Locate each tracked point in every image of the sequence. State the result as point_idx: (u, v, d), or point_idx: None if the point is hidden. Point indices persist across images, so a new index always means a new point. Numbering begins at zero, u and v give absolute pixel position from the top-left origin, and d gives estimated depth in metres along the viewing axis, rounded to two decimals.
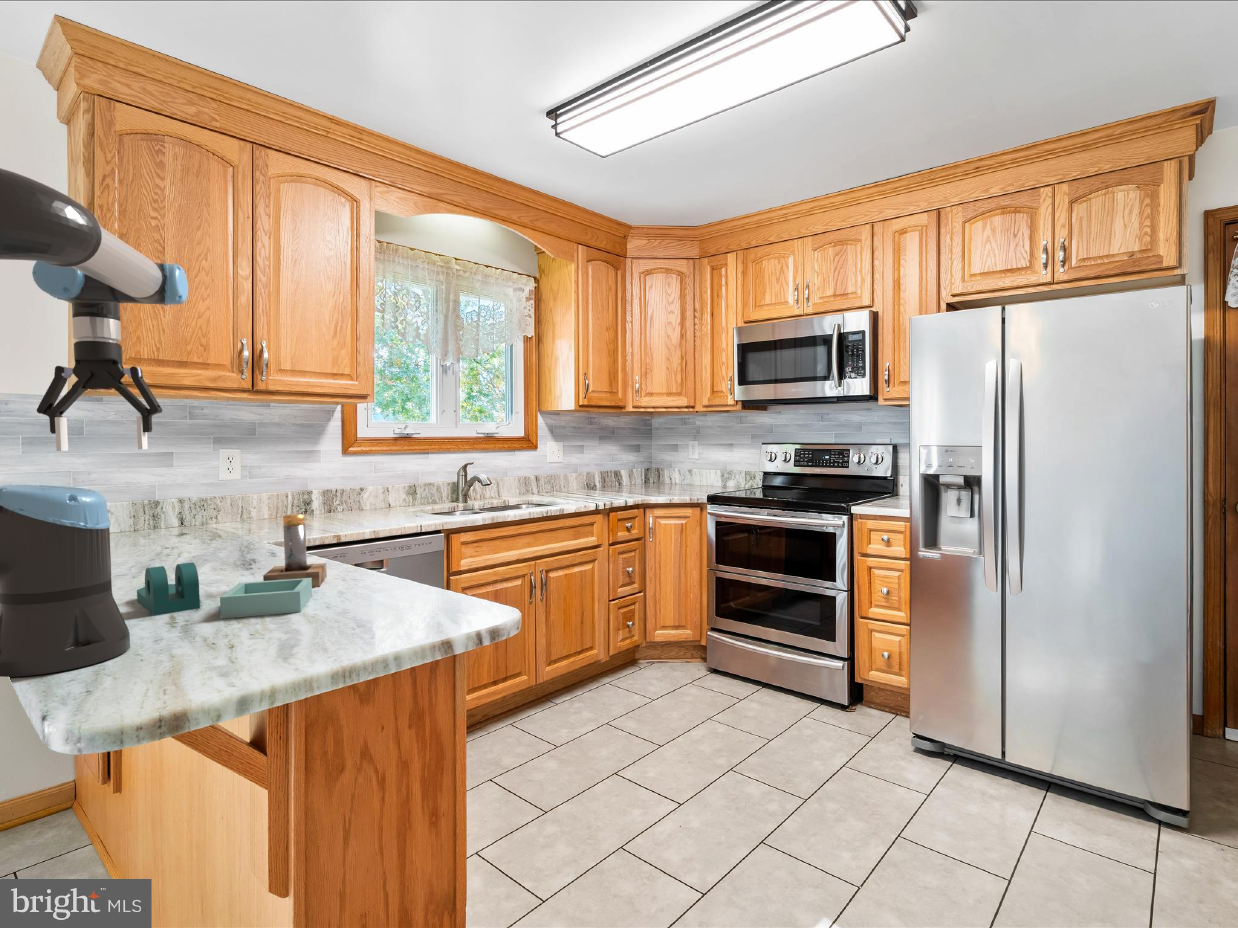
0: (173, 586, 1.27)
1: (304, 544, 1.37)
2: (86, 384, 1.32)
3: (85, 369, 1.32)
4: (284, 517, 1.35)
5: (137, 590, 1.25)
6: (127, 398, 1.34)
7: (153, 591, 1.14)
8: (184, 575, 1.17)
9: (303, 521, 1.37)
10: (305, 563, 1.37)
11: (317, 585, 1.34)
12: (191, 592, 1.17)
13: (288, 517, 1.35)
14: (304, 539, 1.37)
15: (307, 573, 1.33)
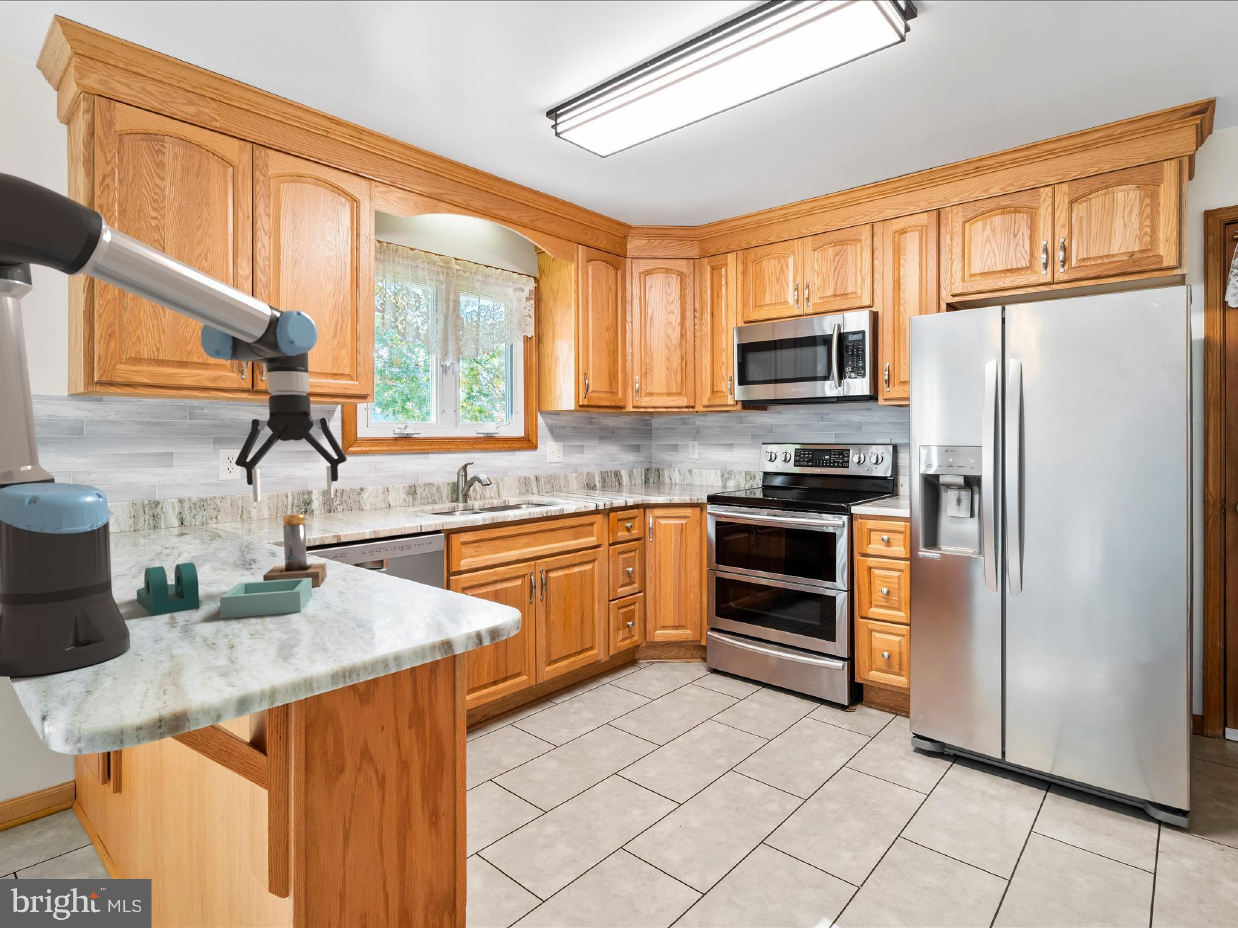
0: (173, 586, 1.27)
1: (304, 544, 1.37)
2: (280, 436, 1.35)
3: (279, 421, 1.35)
4: (284, 517, 1.35)
5: (137, 590, 1.25)
6: (317, 449, 1.37)
7: (152, 591, 1.13)
8: (183, 575, 1.17)
9: (303, 521, 1.37)
10: (305, 563, 1.37)
11: (317, 585, 1.34)
12: (191, 592, 1.17)
13: (288, 517, 1.35)
14: (304, 539, 1.37)
15: (307, 573, 1.33)
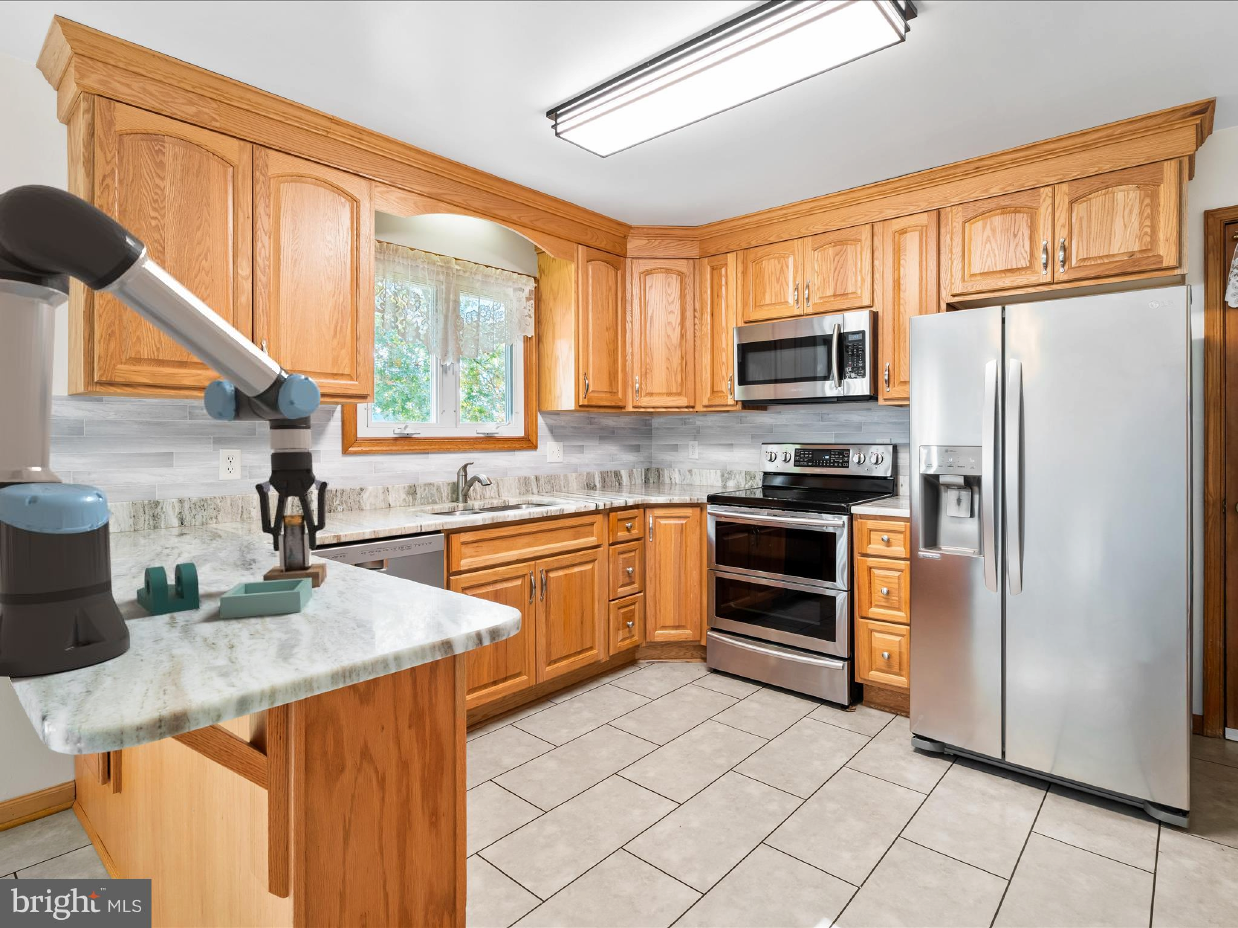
0: (173, 586, 1.27)
1: (304, 544, 1.37)
2: (287, 493, 1.36)
3: (279, 476, 1.35)
4: (284, 517, 1.35)
5: (137, 590, 1.25)
6: (304, 511, 1.36)
7: (152, 591, 1.13)
8: (183, 575, 1.17)
9: (303, 521, 1.37)
10: None
11: (317, 585, 1.34)
12: (191, 592, 1.17)
13: (288, 517, 1.35)
14: None
15: (307, 573, 1.33)
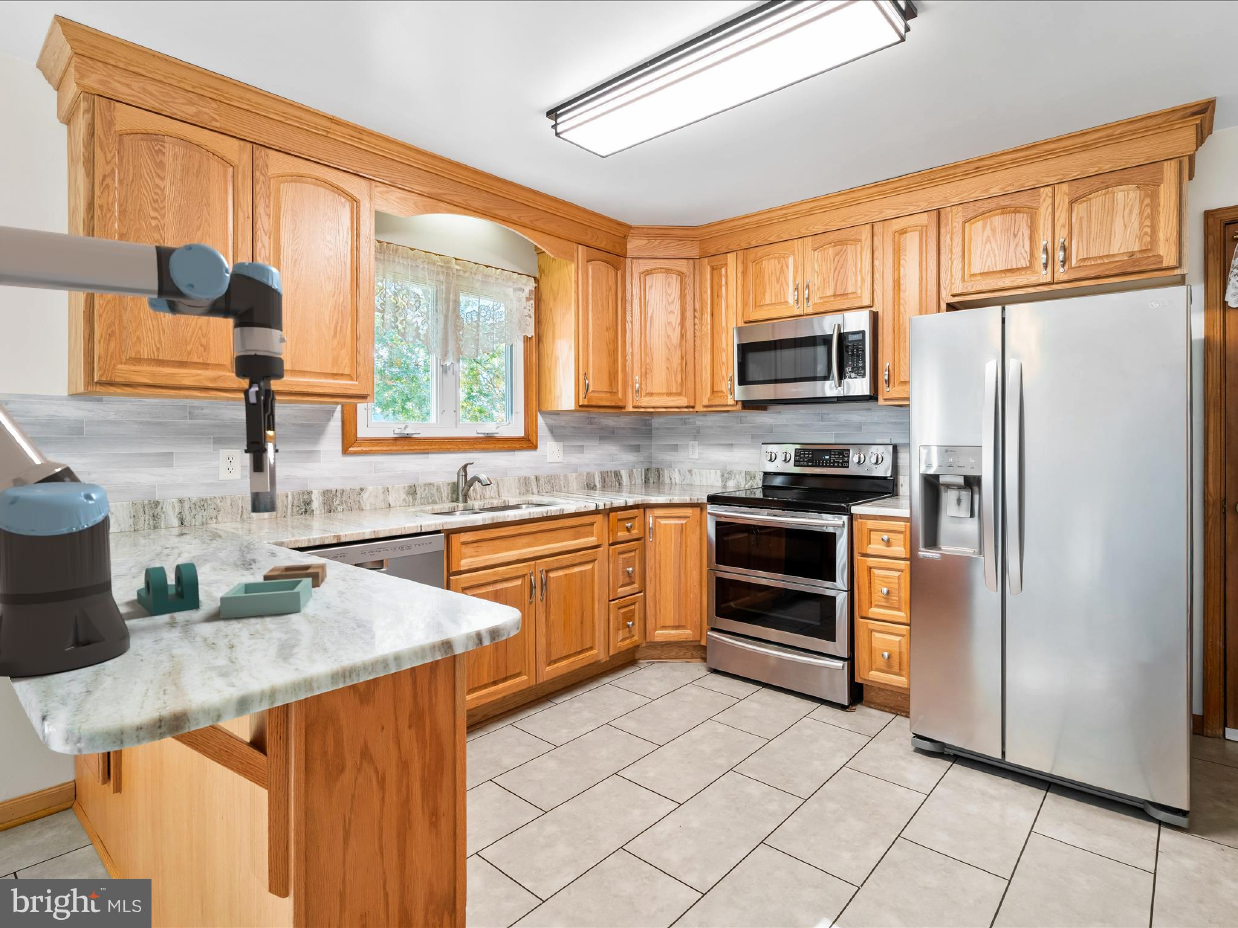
0: (173, 586, 1.27)
1: None
2: None
3: None
4: None
5: (137, 590, 1.24)
6: None
7: (152, 591, 1.13)
8: (184, 576, 1.17)
9: None
10: None
11: (317, 585, 1.34)
12: (191, 593, 1.17)
13: None
14: None
15: (307, 573, 1.33)
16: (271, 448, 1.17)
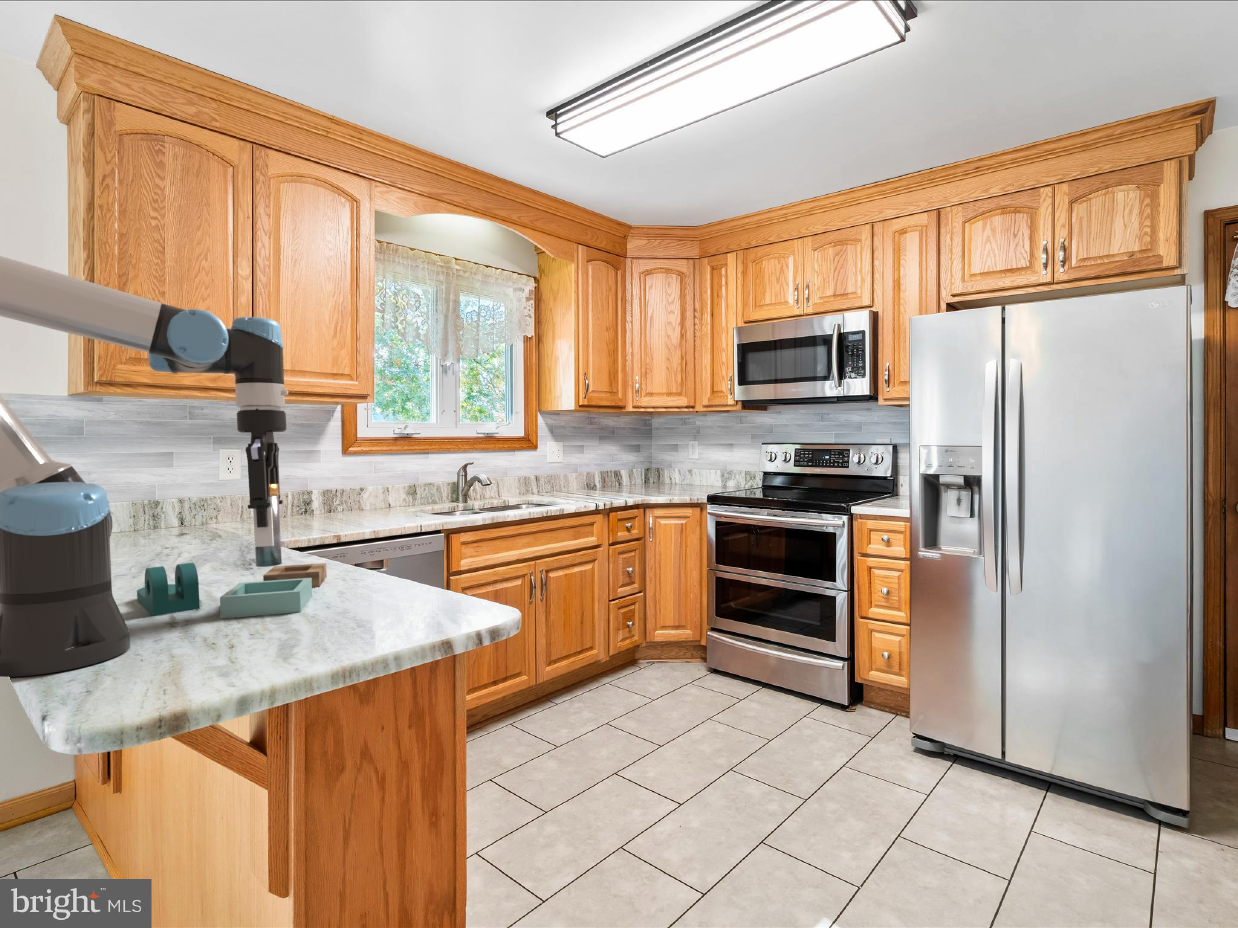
0: (173, 586, 1.27)
1: None
2: None
3: None
4: None
5: (137, 590, 1.24)
6: None
7: (153, 591, 1.13)
8: (184, 576, 1.17)
9: None
10: None
11: (317, 585, 1.34)
12: (191, 593, 1.17)
13: None
14: None
15: (307, 573, 1.33)
16: (274, 501, 1.17)
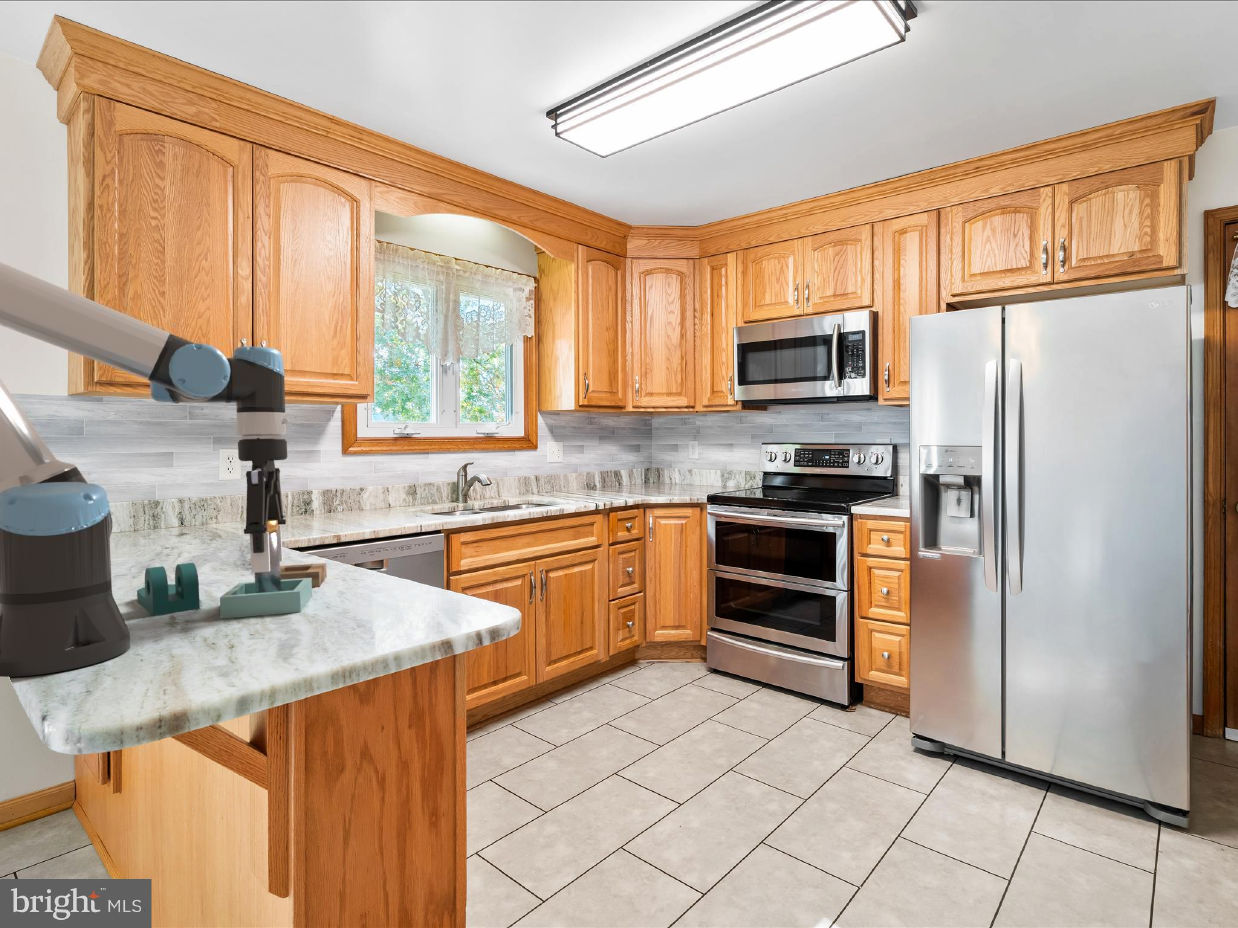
0: (173, 586, 1.27)
1: None
2: None
3: None
4: None
5: (137, 590, 1.24)
6: None
7: (153, 591, 1.13)
8: (184, 576, 1.17)
9: None
10: (261, 580, 1.16)
11: (317, 585, 1.34)
12: (191, 593, 1.17)
13: None
14: None
15: (307, 573, 1.33)
16: (274, 538, 1.17)
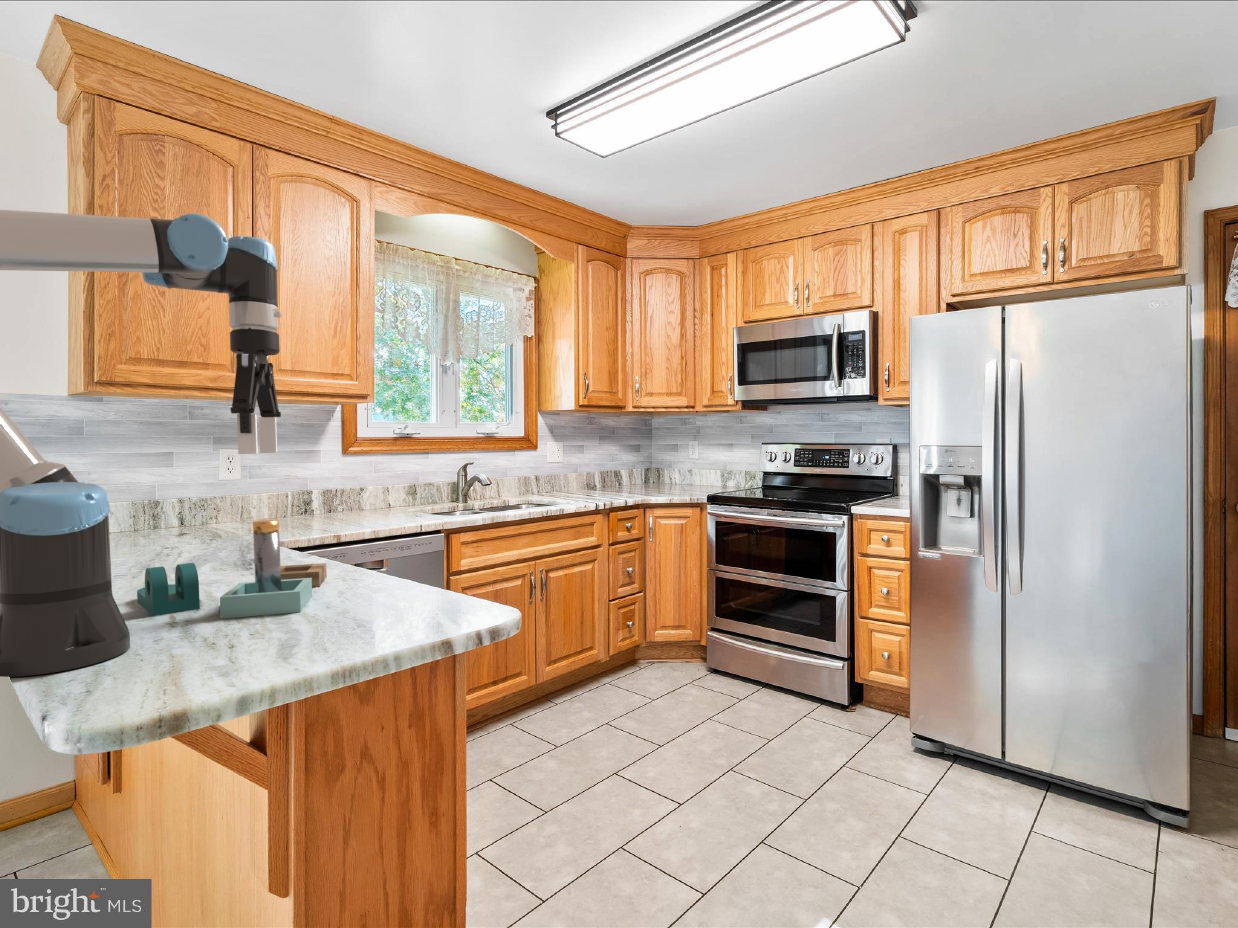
0: (173, 586, 1.27)
1: (260, 557, 1.16)
2: None
3: None
4: None
5: (137, 590, 1.24)
6: None
7: (153, 591, 1.13)
8: (184, 576, 1.17)
9: (258, 530, 1.16)
10: (262, 580, 1.16)
11: (317, 585, 1.34)
12: (191, 593, 1.17)
13: None
14: (260, 551, 1.16)
15: (307, 573, 1.33)
16: (275, 538, 1.17)
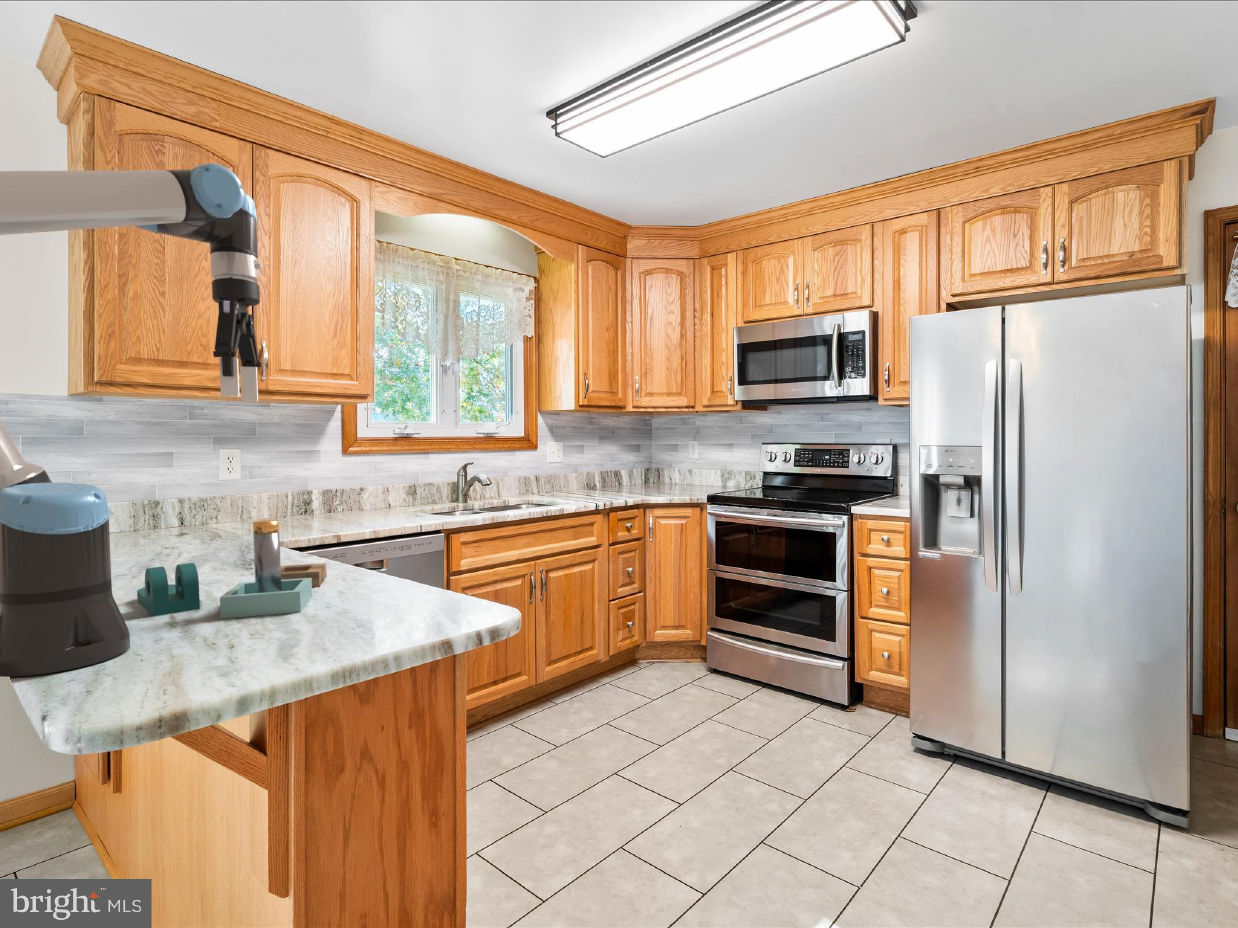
0: (173, 586, 1.27)
1: (260, 557, 1.16)
2: None
3: None
4: None
5: (137, 590, 1.24)
6: None
7: (153, 591, 1.13)
8: (184, 576, 1.17)
9: (259, 530, 1.16)
10: (262, 580, 1.16)
11: (317, 585, 1.34)
12: (191, 593, 1.17)
13: None
14: (260, 551, 1.16)
15: (307, 573, 1.33)
16: (275, 538, 1.17)
